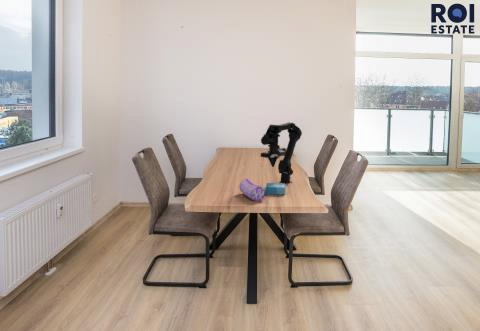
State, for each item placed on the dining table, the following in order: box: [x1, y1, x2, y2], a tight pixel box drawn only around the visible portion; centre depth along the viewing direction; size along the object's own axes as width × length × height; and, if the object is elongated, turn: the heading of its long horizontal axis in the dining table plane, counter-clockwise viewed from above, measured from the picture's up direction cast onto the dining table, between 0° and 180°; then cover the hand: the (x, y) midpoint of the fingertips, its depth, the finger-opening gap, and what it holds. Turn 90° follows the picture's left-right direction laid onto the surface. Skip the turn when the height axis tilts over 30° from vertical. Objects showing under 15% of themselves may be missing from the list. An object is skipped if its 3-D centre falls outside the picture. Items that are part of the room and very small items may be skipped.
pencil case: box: [238, 178, 267, 202], centre depth 265 cm, size 22×9×10 cm, turn 23°
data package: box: [265, 182, 286, 196], centre depth 279 cm, size 12×4×12 cm
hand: (272, 166), depth 295 cm, fingers closed
